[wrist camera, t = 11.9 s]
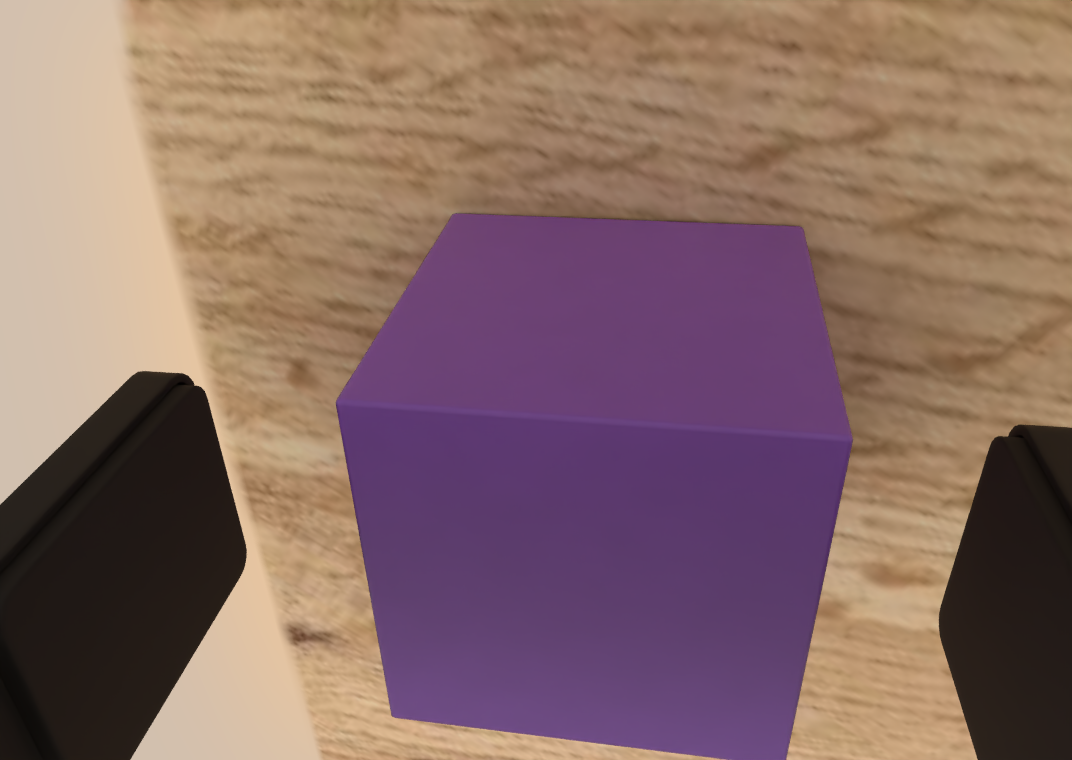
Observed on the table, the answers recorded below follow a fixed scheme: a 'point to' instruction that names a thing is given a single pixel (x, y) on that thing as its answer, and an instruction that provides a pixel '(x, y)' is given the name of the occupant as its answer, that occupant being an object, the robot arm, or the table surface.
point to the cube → (600, 481)
